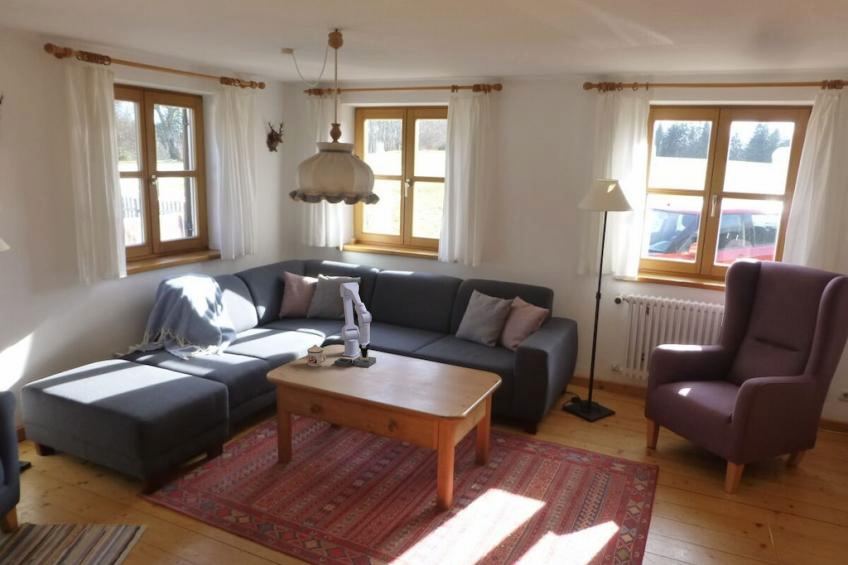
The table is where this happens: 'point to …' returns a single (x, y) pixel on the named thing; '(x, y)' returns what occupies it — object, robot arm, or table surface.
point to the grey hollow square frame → (343, 362)
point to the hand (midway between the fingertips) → (364, 356)
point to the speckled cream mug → (315, 356)
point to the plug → (362, 357)
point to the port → (364, 362)
